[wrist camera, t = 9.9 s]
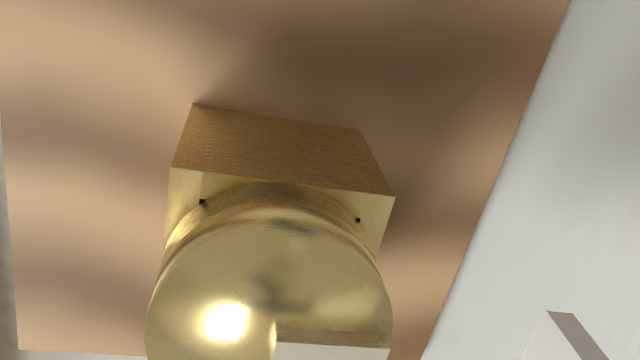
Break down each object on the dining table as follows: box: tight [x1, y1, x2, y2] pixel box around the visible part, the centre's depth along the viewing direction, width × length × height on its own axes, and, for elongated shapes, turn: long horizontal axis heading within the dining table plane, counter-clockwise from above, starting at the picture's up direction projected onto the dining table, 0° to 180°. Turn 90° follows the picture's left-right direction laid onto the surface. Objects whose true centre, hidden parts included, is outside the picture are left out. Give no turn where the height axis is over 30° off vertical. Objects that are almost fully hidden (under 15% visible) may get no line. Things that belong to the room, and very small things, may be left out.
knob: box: [144, 104, 395, 360], centre depth 15 cm, size 6×6×8 cm
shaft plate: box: [0, 0, 570, 360], centre depth 17 cm, size 18×18×5 cm
